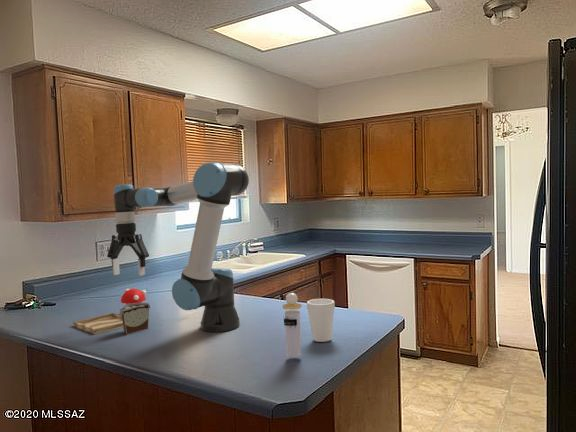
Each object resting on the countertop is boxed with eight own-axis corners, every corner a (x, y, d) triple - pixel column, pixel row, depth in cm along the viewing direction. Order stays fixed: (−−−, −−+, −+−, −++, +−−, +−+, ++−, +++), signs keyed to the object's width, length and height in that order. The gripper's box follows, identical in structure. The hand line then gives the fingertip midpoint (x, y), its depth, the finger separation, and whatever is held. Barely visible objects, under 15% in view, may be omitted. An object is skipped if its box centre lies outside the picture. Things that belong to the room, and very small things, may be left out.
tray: (135, 324, 185) (135, 319, 185) (95, 334, 172) (94, 329, 172) (113, 317, 198) (112, 313, 198) (73, 326, 186) (73, 321, 186)
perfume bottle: (288, 353, 142) (286, 290, 141) (306, 354, 140) (303, 291, 139) (282, 359, 136) (279, 294, 136) (299, 361, 134) (297, 295, 134)
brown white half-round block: (142, 325, 182) (141, 301, 182) (151, 328, 178) (150, 303, 178) (114, 333, 172) (113, 307, 172) (123, 336, 168) (121, 309, 168)
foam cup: (316, 344, 149) (314, 306, 149) (303, 337, 158) (302, 300, 157) (340, 340, 153) (339, 302, 152) (327, 333, 161) (326, 297, 161)
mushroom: (151, 314, 201) (150, 287, 200) (128, 319, 193) (127, 292, 192) (139, 310, 208) (138, 285, 208) (116, 316, 200) (115, 289, 200)
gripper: (156, 221, 180) (159, 273, 180) (110, 223, 190) (113, 272, 191) (142, 222, 173) (146, 277, 173) (95, 224, 183) (99, 275, 184)
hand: (129, 275), depth 182 cm, fingers open, 13 cm apart
